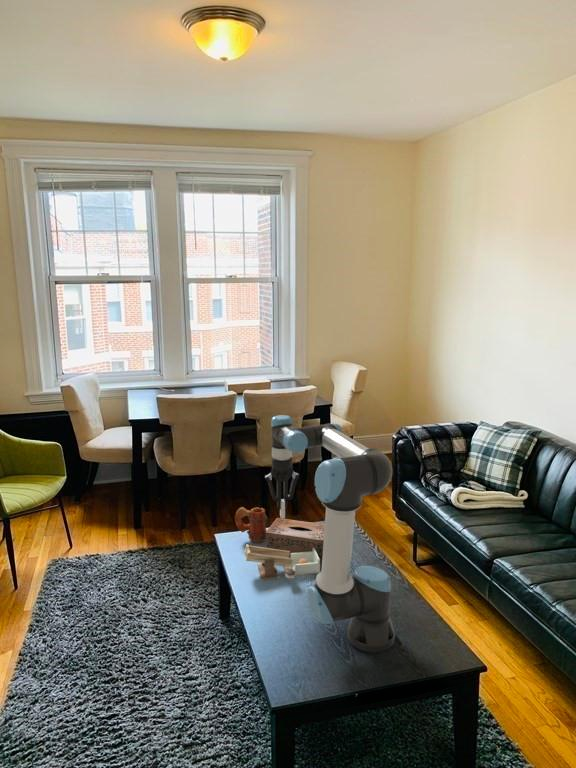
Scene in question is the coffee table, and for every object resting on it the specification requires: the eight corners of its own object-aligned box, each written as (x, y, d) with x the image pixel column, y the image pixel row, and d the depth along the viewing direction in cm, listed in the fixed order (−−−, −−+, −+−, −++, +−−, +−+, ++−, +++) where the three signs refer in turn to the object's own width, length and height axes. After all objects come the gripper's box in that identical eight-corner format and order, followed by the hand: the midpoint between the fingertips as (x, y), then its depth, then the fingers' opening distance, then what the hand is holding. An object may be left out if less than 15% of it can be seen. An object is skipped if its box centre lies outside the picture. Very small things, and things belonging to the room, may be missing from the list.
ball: (305, 570, 222) (310, 563, 222) (298, 567, 221) (303, 559, 221) (303, 566, 225) (308, 559, 225) (296, 562, 225) (301, 555, 224)
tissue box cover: (266, 554, 236) (265, 532, 234) (277, 538, 249) (276, 517, 247) (325, 563, 228) (325, 540, 226) (333, 547, 241) (333, 525, 239)
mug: (269, 536, 251) (269, 504, 248) (267, 545, 243) (266, 512, 240) (237, 535, 252) (236, 503, 249) (234, 543, 244) (233, 511, 241)
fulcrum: (278, 578, 217) (278, 561, 215) (260, 580, 216) (260, 562, 214) (274, 564, 227) (274, 548, 225) (257, 566, 226) (257, 549, 224)
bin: (319, 573, 220) (319, 559, 219) (293, 576, 218) (293, 562, 217) (314, 561, 229) (314, 547, 228) (288, 563, 227) (288, 550, 226)
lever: (295, 578, 210) (297, 570, 210) (248, 572, 206) (250, 563, 206) (287, 557, 225) (289, 550, 225) (244, 551, 221) (246, 543, 221)
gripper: (297, 452, 211) (297, 511, 216) (263, 455, 209) (264, 514, 214) (301, 459, 204) (301, 519, 209) (265, 461, 202) (266, 522, 206)
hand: (282, 516), depth 211 cm, fingers closed
